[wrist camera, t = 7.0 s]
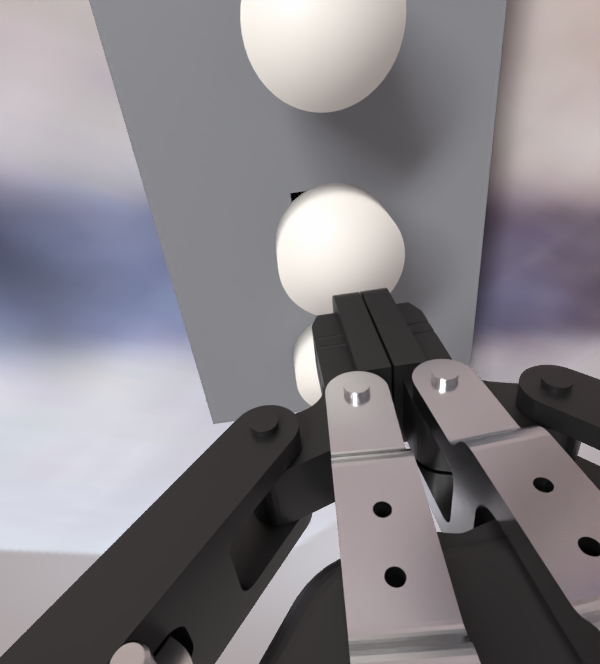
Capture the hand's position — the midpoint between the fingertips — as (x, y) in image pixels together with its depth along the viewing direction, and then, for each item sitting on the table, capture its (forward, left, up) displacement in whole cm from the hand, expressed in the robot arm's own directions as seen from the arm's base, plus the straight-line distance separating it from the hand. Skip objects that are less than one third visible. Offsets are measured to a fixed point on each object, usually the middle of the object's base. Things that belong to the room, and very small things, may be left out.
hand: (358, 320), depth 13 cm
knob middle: (0, 0, -8) cm, 9 cm away
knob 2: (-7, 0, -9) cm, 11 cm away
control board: (0, 0, -11) cm, 11 cm away
